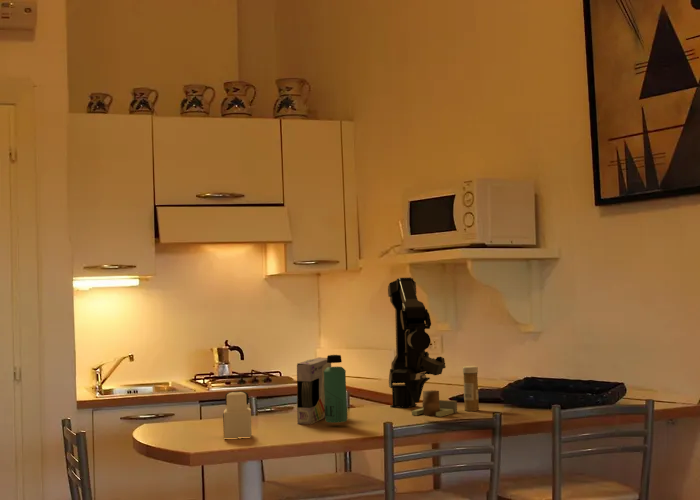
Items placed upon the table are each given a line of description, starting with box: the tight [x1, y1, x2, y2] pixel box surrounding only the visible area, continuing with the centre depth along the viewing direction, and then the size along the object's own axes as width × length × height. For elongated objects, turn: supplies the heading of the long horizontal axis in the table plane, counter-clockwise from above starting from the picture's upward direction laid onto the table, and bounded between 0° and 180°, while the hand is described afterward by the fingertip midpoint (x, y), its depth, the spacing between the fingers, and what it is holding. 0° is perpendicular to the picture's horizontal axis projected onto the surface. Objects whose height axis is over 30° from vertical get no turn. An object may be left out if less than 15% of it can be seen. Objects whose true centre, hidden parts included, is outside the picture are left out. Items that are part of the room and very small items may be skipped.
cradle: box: [411, 407, 455, 417], centre depth 288 cm, size 10×8×1 cm
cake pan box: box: [296, 356, 332, 425], centre depth 284 cm, size 19×5×18 cm, turn 162°
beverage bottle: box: [324, 354, 349, 424], centre depth 270 cm, size 6×7×20 cm
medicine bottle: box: [222, 390, 252, 439], centre depth 256 cm, size 7×7×12 cm
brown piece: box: [422, 389, 440, 417], centre depth 287 cm, size 5×5×7 cm
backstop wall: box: [439, 399, 458, 414], centre depth 293 cm, size 11×1×4 cm, turn 57°
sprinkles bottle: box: [462, 365, 480, 412], centre depth 295 cm, size 5×5×13 cm
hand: (416, 402), depth 280 cm, fingers closed
